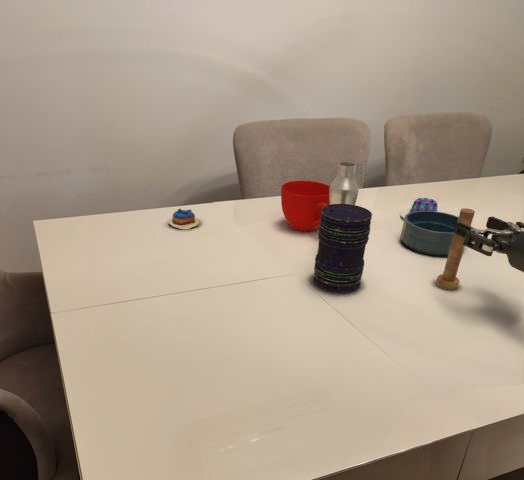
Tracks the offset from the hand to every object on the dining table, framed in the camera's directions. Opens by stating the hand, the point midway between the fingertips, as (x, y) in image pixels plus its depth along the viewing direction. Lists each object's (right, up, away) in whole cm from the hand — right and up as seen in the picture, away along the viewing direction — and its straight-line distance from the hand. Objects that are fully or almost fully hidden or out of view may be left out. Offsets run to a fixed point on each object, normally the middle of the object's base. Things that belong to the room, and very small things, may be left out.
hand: (472, 224), depth 96 cm
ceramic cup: (-29, +7, +32) cm, 44 cm away
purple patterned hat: (+4, +12, +42) cm, 44 cm away
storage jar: (-25, -10, +8) cm, 28 cm away
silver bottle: (-23, -2, +21) cm, 31 cm away
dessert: (-60, +8, +31) cm, 68 cm away
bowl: (+1, +2, +27) cm, 27 cm away
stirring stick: (-2, -10, +9) cm, 14 cm away
